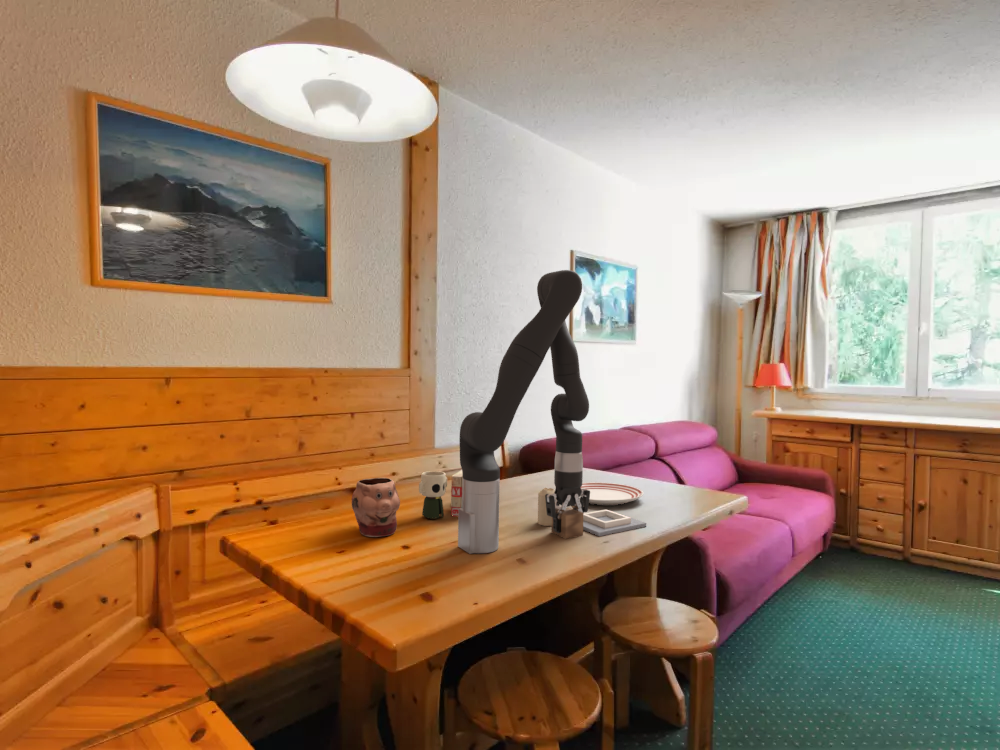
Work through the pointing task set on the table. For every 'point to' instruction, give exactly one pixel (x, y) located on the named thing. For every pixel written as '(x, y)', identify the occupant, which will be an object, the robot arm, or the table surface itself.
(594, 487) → the dinner plate
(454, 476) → the stack of blocks
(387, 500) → the decorative planter
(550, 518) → the candle
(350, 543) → the table surface
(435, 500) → the character mug
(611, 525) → the baseplate
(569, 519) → the walnut block
